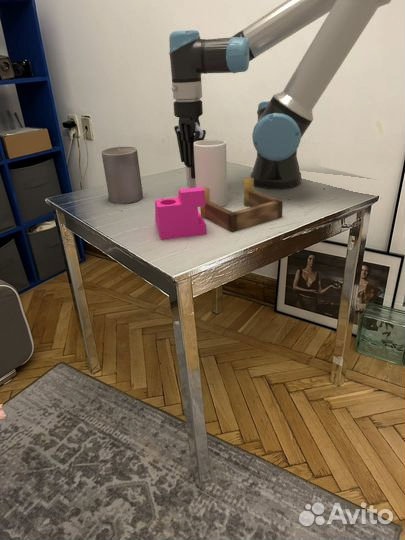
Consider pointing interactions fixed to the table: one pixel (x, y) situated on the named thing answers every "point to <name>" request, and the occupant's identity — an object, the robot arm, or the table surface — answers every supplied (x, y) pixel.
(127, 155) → the pillar candle
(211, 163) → the cup
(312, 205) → the table surface
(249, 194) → the bay
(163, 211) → the bracket
